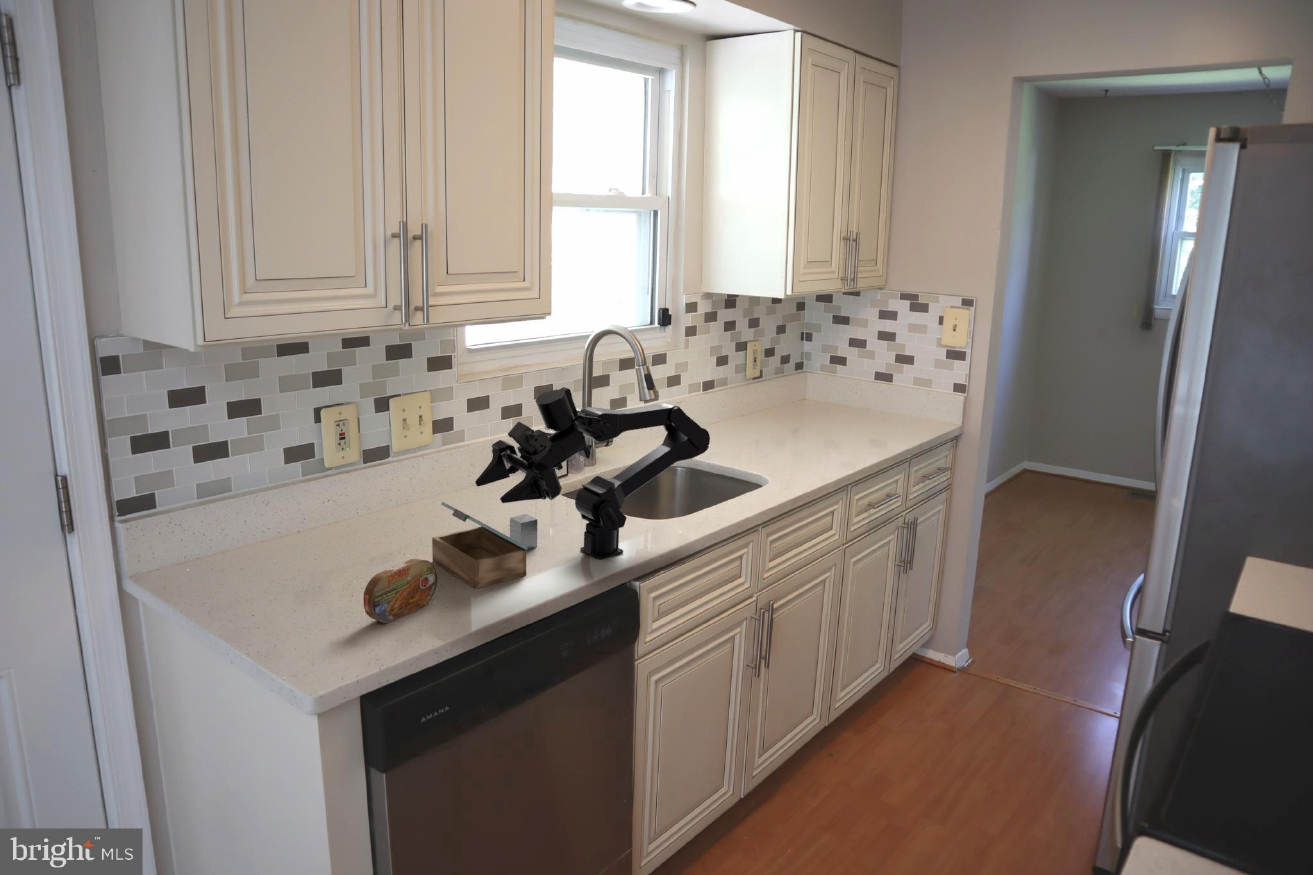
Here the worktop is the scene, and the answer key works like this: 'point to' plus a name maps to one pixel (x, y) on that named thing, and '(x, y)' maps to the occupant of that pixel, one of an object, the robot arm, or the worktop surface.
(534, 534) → the block
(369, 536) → the worktop surface
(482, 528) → the box
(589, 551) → the robot arm
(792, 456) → the worktop surface
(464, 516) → the lid
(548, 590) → the worktop surface
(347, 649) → the worktop surface
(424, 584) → the tin
